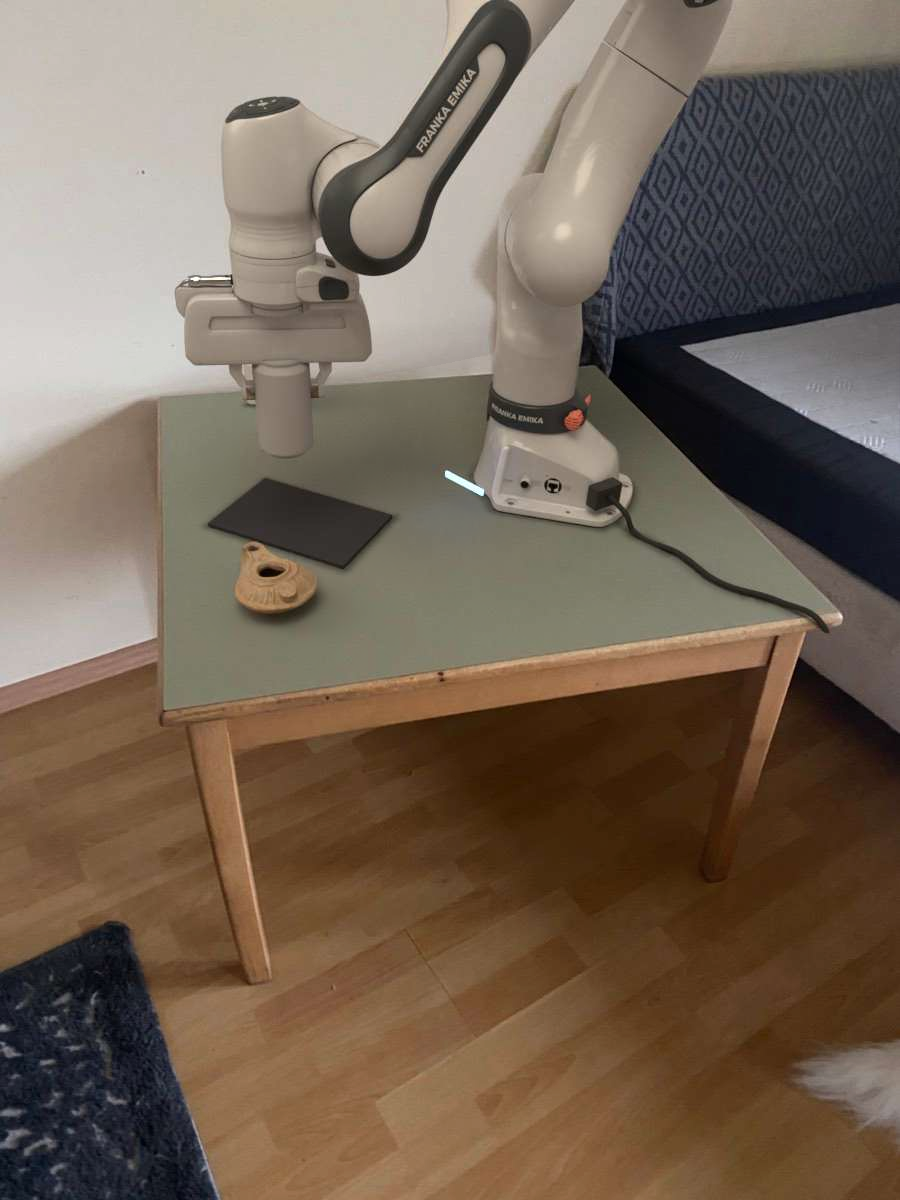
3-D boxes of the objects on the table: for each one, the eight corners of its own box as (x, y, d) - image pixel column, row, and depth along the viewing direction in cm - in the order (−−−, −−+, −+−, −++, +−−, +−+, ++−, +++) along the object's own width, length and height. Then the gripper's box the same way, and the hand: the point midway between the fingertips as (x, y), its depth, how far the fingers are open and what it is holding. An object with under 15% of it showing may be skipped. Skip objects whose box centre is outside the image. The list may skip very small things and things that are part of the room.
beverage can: (323, 453, 104) (319, 357, 96) (273, 467, 101) (265, 368, 93) (299, 431, 108) (293, 337, 100) (250, 443, 105) (241, 347, 97)
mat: (392, 517, 116) (392, 514, 116) (343, 569, 106) (343, 565, 106) (265, 480, 122) (264, 477, 121) (208, 526, 112) (207, 523, 112)
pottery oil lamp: (283, 553, 108) (305, 517, 103) (306, 635, 102) (330, 601, 97) (214, 549, 103) (233, 510, 98) (234, 635, 97) (256, 599, 92)
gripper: (170, 286, 87) (188, 412, 96) (373, 284, 91) (373, 406, 99) (173, 265, 92) (191, 387, 101) (367, 264, 96) (367, 382, 104)
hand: (283, 397), depth 100 cm, fingers closed on beverage can, 6 cm apart
